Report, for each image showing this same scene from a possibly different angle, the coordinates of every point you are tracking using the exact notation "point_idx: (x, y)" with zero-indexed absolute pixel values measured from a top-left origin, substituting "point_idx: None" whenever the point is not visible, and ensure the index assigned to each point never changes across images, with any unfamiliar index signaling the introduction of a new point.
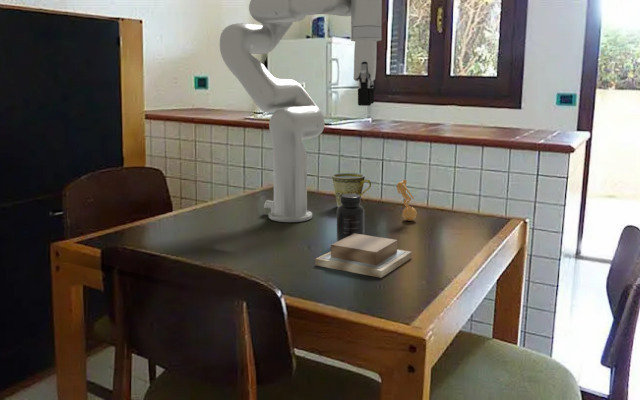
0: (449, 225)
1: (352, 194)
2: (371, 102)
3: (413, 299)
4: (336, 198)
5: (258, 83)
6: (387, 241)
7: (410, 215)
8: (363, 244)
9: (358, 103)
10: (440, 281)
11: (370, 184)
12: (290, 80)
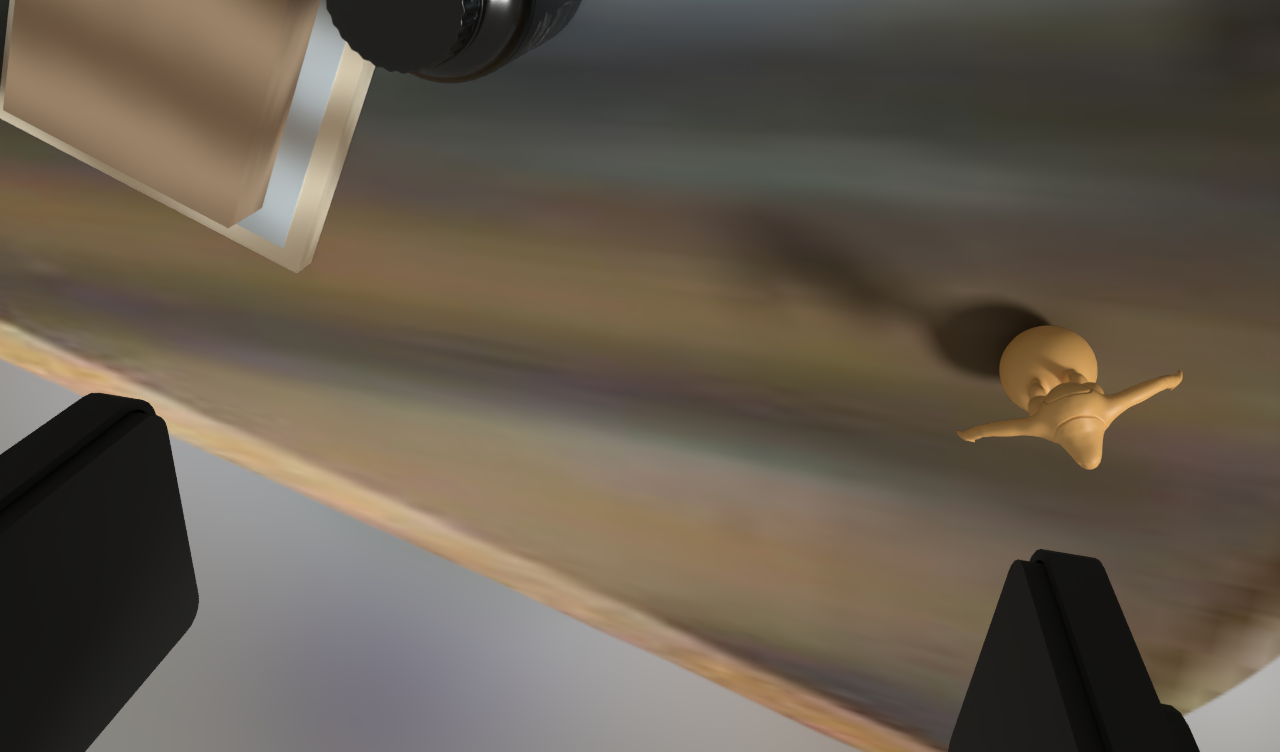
0: (907, 525)
1: (433, 9)
2: (952, 740)
3: None
4: None
5: None
6: (188, 177)
7: (1000, 369)
8: (97, 50)
9: (77, 415)
10: (72, 324)
11: None
12: None
